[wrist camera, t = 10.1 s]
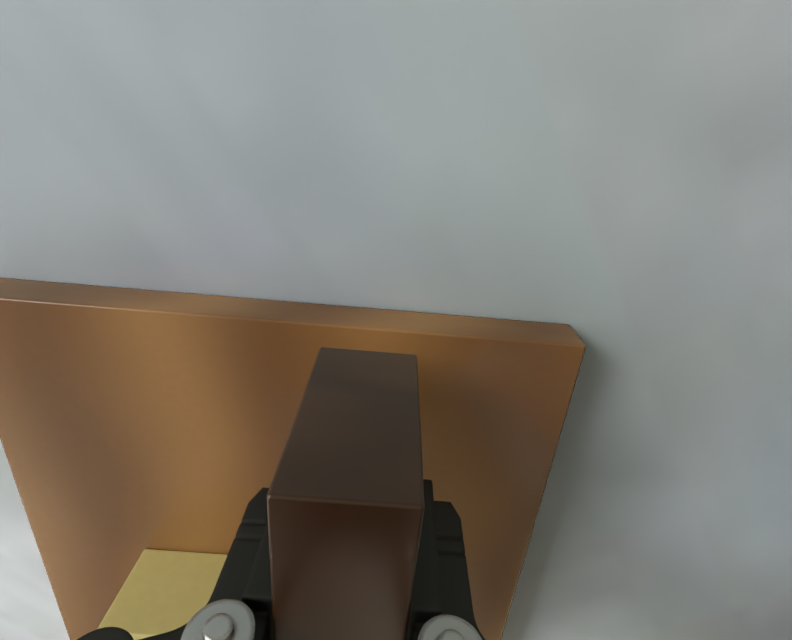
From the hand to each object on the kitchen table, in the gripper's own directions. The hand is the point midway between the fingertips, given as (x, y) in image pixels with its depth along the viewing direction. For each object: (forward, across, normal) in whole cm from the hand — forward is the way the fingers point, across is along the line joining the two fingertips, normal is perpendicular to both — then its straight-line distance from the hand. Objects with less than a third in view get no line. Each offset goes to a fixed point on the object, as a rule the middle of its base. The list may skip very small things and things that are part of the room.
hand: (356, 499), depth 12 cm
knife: (+1, 0, +4) cm, 4 cm away
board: (+4, +3, +6) cm, 8 cm away
